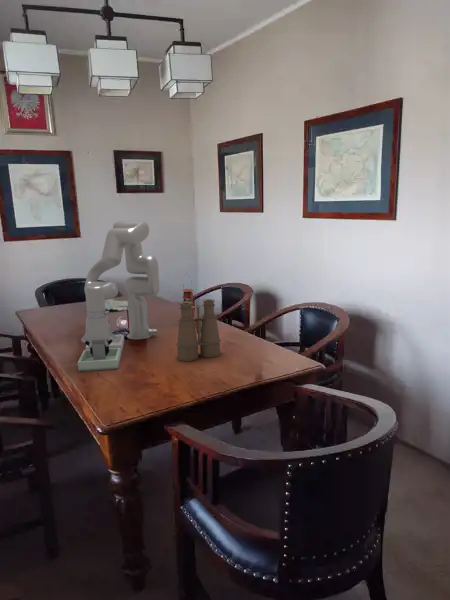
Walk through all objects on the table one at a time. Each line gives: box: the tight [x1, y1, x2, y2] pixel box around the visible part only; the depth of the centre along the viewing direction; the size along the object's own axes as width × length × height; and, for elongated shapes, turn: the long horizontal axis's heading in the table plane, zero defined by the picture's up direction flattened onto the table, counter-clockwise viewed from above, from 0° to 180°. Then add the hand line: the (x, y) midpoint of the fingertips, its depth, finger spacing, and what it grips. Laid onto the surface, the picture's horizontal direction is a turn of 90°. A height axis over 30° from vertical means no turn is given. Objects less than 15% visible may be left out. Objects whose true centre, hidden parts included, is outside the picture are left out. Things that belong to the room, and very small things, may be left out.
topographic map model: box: [105, 298, 128, 314], centre depth 296 cm, size 36×29×5 cm
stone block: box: [92, 340, 106, 360], centre depth 190 cm, size 5×5×7 cm
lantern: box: [181, 273, 197, 328], centre depth 244 cm, size 10×10×30 cm
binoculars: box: [175, 298, 222, 362], centre depth 196 cm, size 21×10×25 cm, turn 113°
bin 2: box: [77, 348, 122, 373], centre depth 191 cm, size 16×16×4 cm
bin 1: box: [85, 334, 125, 353], centre depth 210 cm, size 16×16×4 cm
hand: (100, 354), depth 190 cm, fingers closed on stone block, 5 cm apart
